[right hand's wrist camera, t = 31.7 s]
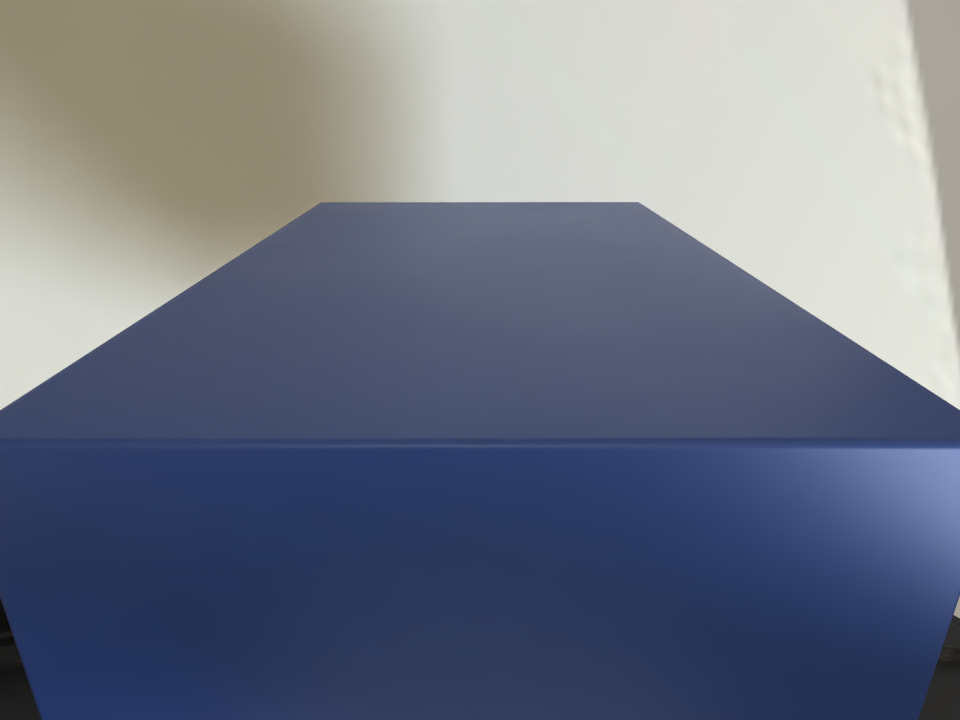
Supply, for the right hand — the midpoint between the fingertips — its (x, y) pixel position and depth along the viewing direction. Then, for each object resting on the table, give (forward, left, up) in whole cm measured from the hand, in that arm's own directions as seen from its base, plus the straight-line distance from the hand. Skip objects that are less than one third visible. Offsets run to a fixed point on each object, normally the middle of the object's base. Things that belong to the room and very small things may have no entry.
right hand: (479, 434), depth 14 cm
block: (0, 0, -3) cm, 3 cm away
